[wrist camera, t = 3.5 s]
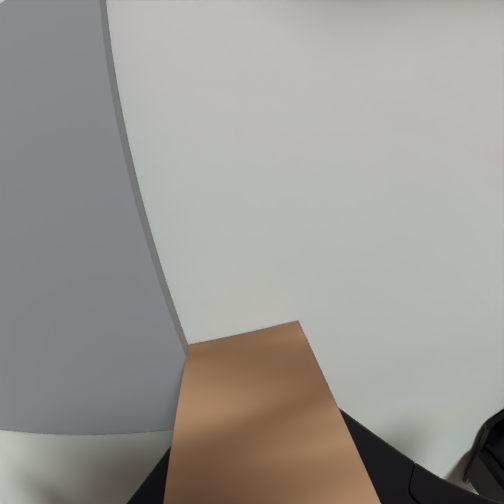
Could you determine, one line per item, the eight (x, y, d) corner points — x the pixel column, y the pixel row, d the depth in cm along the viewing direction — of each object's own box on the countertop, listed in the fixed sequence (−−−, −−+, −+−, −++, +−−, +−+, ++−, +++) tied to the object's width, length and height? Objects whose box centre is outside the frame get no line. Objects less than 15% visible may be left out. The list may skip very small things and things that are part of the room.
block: (298, 320, 8) (400, 550, 2) (317, 438, 10) (370, 596, 3) (188, 345, 8) (154, 587, 2) (234, 456, 10) (247, 619, 3)
